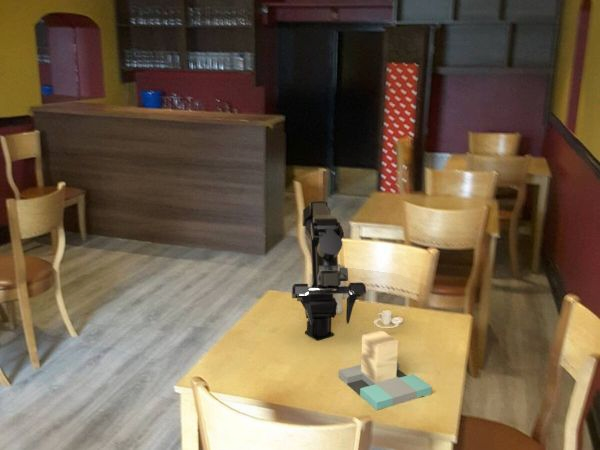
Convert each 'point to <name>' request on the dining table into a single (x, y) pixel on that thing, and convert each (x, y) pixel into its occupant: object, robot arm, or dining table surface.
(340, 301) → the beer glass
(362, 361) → the maple block
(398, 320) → the teacup and saucer
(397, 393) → the board
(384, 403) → the mint green slab
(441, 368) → the dining table surface
